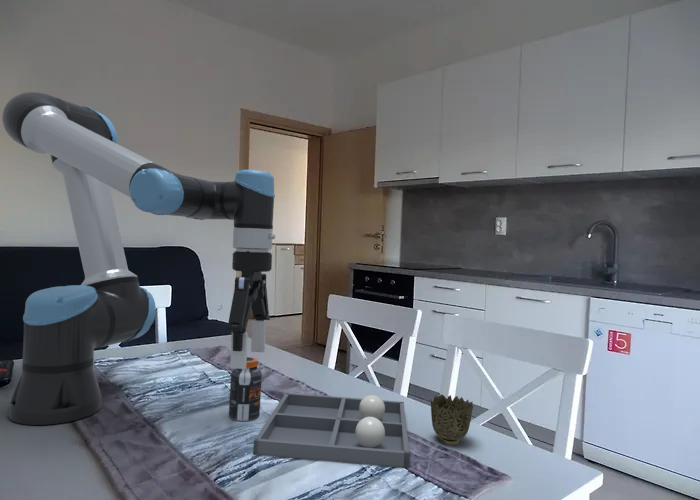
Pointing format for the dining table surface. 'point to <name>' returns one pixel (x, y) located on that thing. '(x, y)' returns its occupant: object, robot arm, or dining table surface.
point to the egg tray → (331, 431)
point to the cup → (451, 418)
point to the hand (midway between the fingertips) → (248, 359)
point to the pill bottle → (245, 392)
